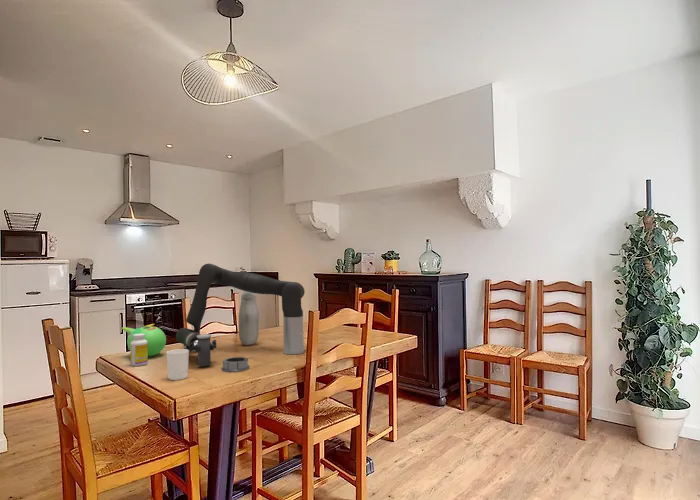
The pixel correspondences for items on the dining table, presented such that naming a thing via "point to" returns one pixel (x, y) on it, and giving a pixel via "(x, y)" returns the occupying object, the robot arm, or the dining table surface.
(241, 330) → the grey bottle
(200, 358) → the white-topped grey cylinder
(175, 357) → the white cup
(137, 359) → the supplement bottle
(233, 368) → the octagonal ring holder
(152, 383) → the dining table surface
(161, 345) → the toy bird
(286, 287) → the robot arm
